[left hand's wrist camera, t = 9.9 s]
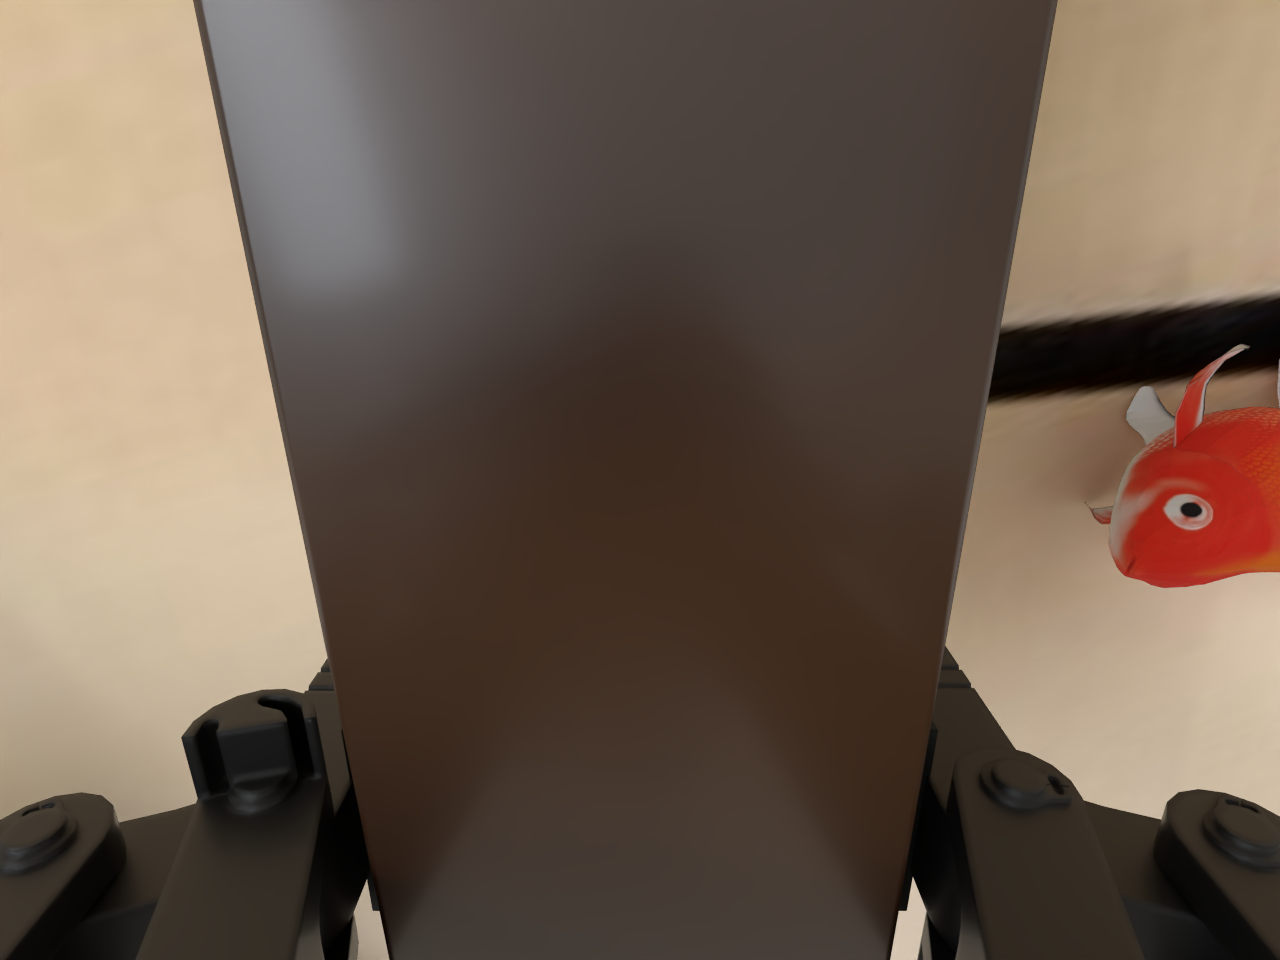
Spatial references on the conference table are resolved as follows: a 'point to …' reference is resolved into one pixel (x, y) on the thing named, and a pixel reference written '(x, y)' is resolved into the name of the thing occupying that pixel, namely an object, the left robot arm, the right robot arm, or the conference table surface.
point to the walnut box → (631, 437)
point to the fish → (1198, 490)
